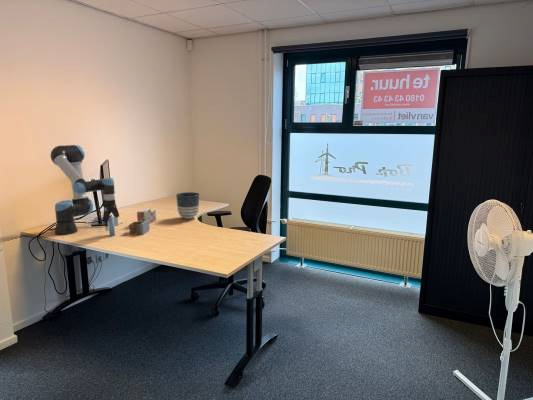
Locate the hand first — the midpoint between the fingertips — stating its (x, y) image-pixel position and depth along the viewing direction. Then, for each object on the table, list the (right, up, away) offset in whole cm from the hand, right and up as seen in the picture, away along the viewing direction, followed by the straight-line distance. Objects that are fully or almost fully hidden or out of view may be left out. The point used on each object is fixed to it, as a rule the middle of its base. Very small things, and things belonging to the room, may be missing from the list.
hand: (111, 228), depth 272 cm
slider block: (+15, -4, +10) cm, 19 cm away
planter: (+44, +4, +55) cm, 71 cm away
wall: (+21, -4, +10) cm, 24 cm away
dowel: (0, -6, +1) cm, 6 cm away
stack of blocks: (+14, +1, +37) cm, 40 cm away
